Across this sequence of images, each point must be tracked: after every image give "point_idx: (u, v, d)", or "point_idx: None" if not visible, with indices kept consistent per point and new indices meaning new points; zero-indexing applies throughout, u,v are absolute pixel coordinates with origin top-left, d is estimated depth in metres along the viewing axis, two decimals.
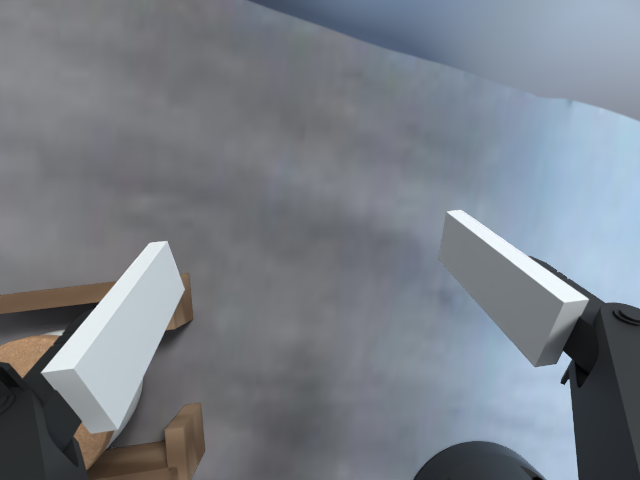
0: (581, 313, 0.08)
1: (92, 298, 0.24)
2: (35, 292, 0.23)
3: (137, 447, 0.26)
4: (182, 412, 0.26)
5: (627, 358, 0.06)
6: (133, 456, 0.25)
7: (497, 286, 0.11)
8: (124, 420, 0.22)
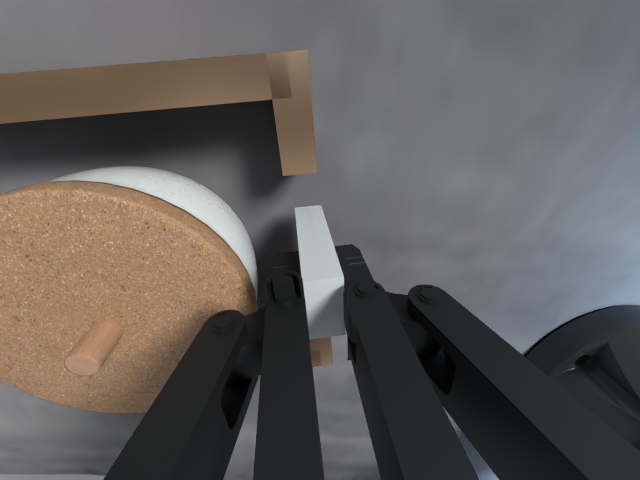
0: (344, 289, 0.10)
1: (138, 100, 0.11)
2: None
3: None
4: None
5: (369, 331, 0.08)
6: None
7: None
8: None
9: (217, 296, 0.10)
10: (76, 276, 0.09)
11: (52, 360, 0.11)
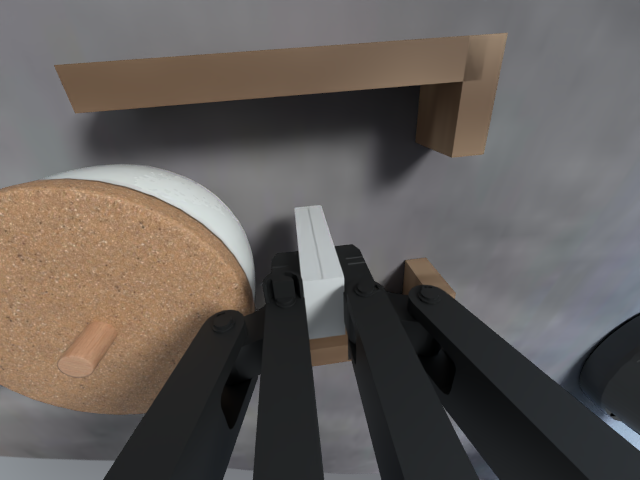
0: (344, 289, 0.10)
1: (342, 80, 0.11)
2: (217, 56, 0.10)
3: None
4: (418, 271, 0.19)
5: (369, 331, 0.08)
6: None
7: None
8: None
9: (213, 297, 0.10)
10: (69, 276, 0.09)
11: (46, 361, 0.11)
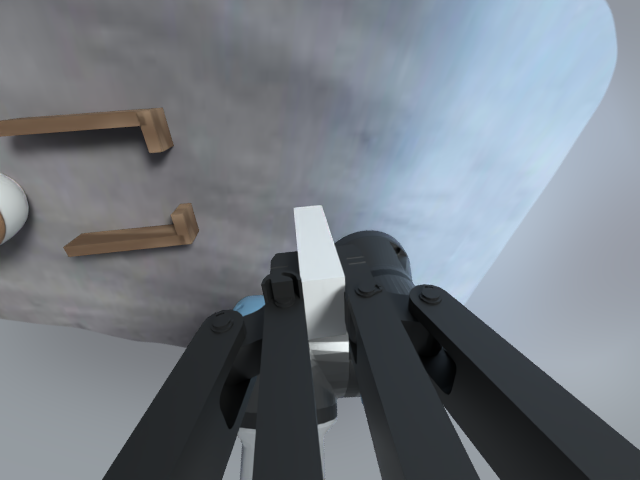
0: (345, 289, 0.10)
1: (93, 125, 0.32)
2: (45, 118, 0.31)
3: (154, 227, 0.42)
4: (179, 207, 0.40)
5: (370, 331, 0.08)
6: (153, 230, 0.41)
7: None
8: (14, 220, 0.34)
9: None
10: None
11: None
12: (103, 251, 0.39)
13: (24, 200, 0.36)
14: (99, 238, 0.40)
